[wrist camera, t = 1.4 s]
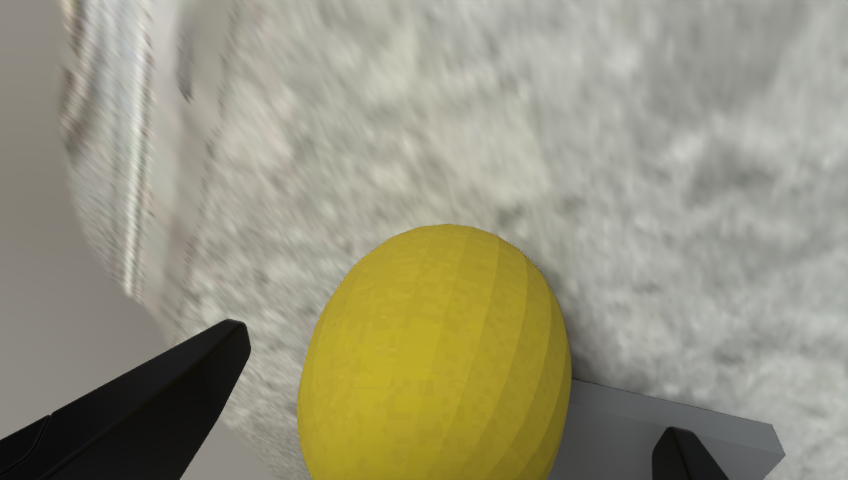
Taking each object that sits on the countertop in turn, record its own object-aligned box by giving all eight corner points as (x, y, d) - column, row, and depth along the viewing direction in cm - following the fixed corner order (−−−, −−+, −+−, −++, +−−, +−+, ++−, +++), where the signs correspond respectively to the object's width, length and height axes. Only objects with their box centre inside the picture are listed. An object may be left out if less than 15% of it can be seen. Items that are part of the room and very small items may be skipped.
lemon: (480, 353, 15) (425, 660, 9) (346, 257, 14) (172, 519, 8) (612, 258, 12) (678, 626, 6) (450, 127, 11) (306, 387, 5)
